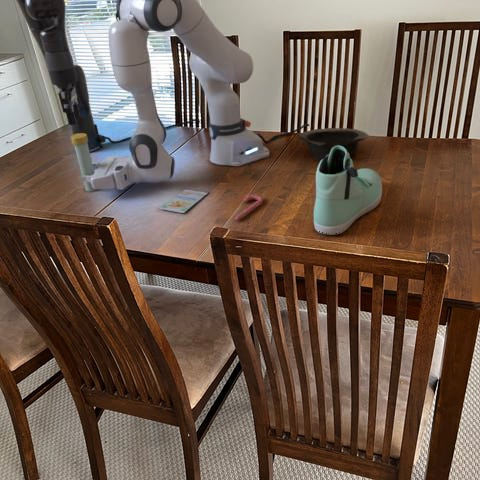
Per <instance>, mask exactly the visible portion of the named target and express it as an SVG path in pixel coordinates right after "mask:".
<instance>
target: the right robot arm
mask: <svg viewBox="0 0 480 480" xmlns="http://www.w3.org/2000/svg"><path fill="white" fill-rule="evenodd" d="M115 6H116V9H115V11H116V12H115V20H116V21H114V22H112V24H111V25H110V26H109V28H108V49H109V50H108V51H109V57H110V62H111V67H112V73H113V75H114V78H115V80H116V83H117V85H118V87H120V88H121V89H122V90H124V91H126V92H128V93H131V95H132V97H133V99H134V105H135V109H136V112H137V113H136V114H137V116H138V117H137V118H138V121H137V126H136V129H135V130H134V133H133V134H132V136H131V137H132V138H131V139H129V145H128V148H129V152H130V156H126V155H108V156H105V158H104V159H103V161H98V162H92V164H93V168H94V172H95V173H94V174H93V175H91V176H87V175H82V174H81V176H80V181H81V182H84V181H87V182H90V183H91V184H92V187H93V188H94V189H97V190H113V189H116V190H119V191H120V190H121V191H122V190H124V189H126V188H127V187H129V186H131V185H132V184H139V183H142V182H143V183H149V184H150V183H162V182H166V181H170V180H171V179H172V178H173V176H174V174H175V167H176V166H175V165H176V164H175V162H176V161H175V157H174V156H172V155H171V154H170V153H169V152H168V151H167V150H166V149H165V147H164V145H163V144H164V143H165V141H166V138H167V129H165V127H166V126H165V124H164V123H163V122H162V120H161V119H160V116H159V113H158V110H157V109H158V108H157V105H156V101H155V94H154V90H153V80H152V77H153V76H152V66H151V65H152V64H151V59H150V53H149V49H148V38H149V35H150V32H156V33H165V32H168V31H171V30H172V31H173V32H174V34H175V35H176V36H177V38H178V39H179V40H180V41H181V43H182V44H183V45H184V46H185V48H186V49H187V51H189V53H190V56H189V58H188V59H189V60H188V61H189V62H188V64H189V69H190V71H191V73H192V74H193V75H194V76H195V78H196V79H198V82H199V83H200V85H201V88H202V90H203V92H204V95H205V97H206V101H207V107H208V115H209V122H208V130H209V136H210V154H209V161H210V162H211V163H212V164H215V165H218V166H232V167H241V166H243V165H247V164H249V163H253V162H256V161H259V160H261V159H264V158H267V157H270V156H271V153H270V150H269V148H267V147H266V146H264V144H268V143H270V142H272V141H273V140H274V139H277V138H279V137H280V138H281V137H285V136H289V135H291V134H292V135H293V134H294V133H297V132H298V131H300V130H303V129H304V128H305V127H306V126H307V127H310V124H309V123H307V122H306V123H304V124H302V125H301V126H300V127H298V128H296V129H294V130H292V131H289V132H286V133H285V132H284V133H281V134H276V135H274V136H272V137H271V138H270V139H269V140H266V139H265V138H264V136H262V135H261V133H260V132H254V131H252V130H250V129H248V128H250V127H251V121H249V120H246V119H244V118H242V117H241V105H240V103H241V102H240V97H239V96H238V94H237V93H236V92H235V91H234V90H233V88H232V87H231V85H235V84H236V85H237V84H243V83H246V82H248V81H249V80H250V78H251V77H252V75H253V73H254V60H253V58H252V56H251V55H250V54H249V52H246V51H244V50H243V49H241V48H240V47H238V46H237V45H236V44H234V43H233V42H232V41H231V40H230V39H229V38H228V37H227V36H225V34H223V33H222V32H221V31H220V30H219V29H218V28H217V27H216V25H215V24H214V22H213V21H212V20H211V18H210V17H209V16H208V14H207V13H206V12H205V10H204V8H203V7H202V5H201V4H200V3H199V1H198V0H116V5H115ZM149 31H150V32H149ZM263 143H264V144H263Z"/></svg>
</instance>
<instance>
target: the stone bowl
mask: <svg viewBox="0 0 480 480" xmlns="http://www.w3.org/2000/svg"><path fill="white" fill-rule="evenodd" d="M368 138H370V134H368V133H367V132H365V131H363V130H360V129H357V128H356V129H355V128H348V127H347V128H345V127H344V128H343V127H340V128H339V127H327V128H315V129H311V130H307V131H306V130H305V131H303V132H301V133H299V136H298V139H299V140H301V141H304V142H306V143H307V148H308V151H309V152H310V153H311V154H312V155H313V156H315V159H316V161H318V162H320V161H321V160H322V159H324V158H325V157H326V156H327V155H329V154H330V152H331V149H332V148H333V147H334V146H342V147H344V148H345V149H346V150H347V152H348V153H349V156H350V157H354V156H355V155H357V150H358V146H359V145H358V143H359V142H362V141H364V140H366V139H368Z"/></svg>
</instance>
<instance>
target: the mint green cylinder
mask: <svg viewBox="0 0 480 480" xmlns="http://www.w3.org/2000/svg"><path fill="white" fill-rule="evenodd" d="M73 146H74V150H75V154H76V157H77V161H78V165H79V169H80V173H81V176H82V175H87V176H91V175H93V174H94V173H95V172H96V171H95V170H94V168H93V161H92V157H91V152H89V148H88V144H87V143H85V144H82V145H73ZM83 185H84V188H85V191H86V192H88V193H89V192H95V191H97V190H98V189H94V188H93V187H92V184H91V183H90V182H87V181H83Z"/></svg>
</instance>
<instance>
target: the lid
mask: <svg viewBox="0 0 480 480" xmlns="http://www.w3.org/2000/svg"><path fill="white" fill-rule="evenodd" d="M70 141H71V144H72V145H73V146H74V145H82V144H85V143H87V142H88V138H87V134H85V133H79V134H75V135H73V134H72V135H71V136H70Z"/></svg>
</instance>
